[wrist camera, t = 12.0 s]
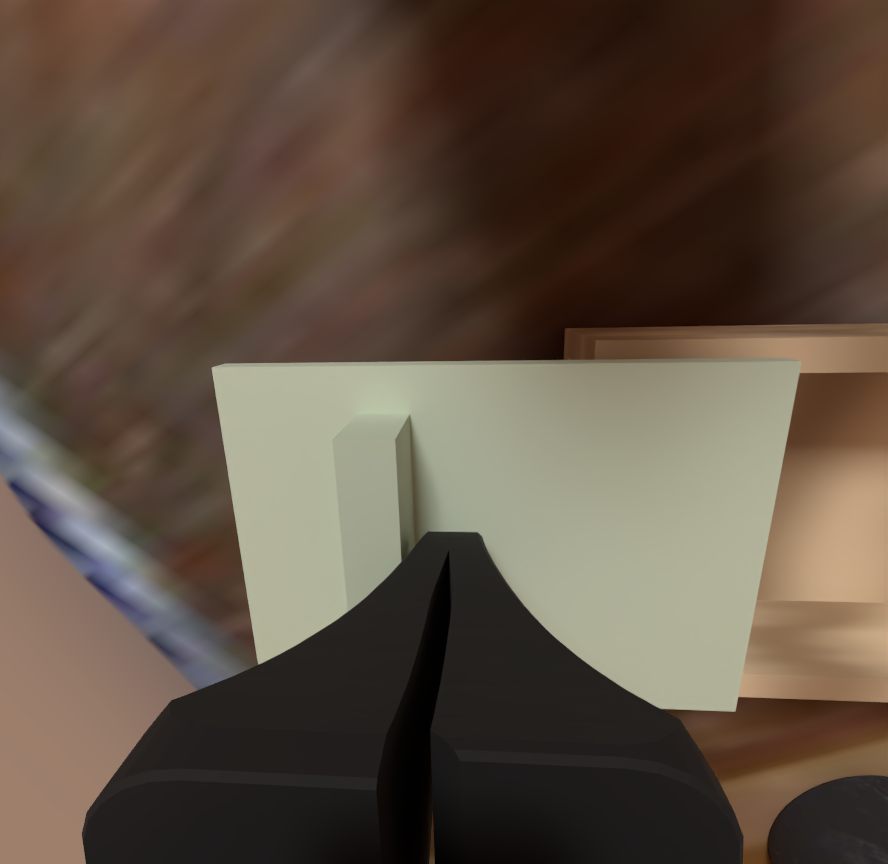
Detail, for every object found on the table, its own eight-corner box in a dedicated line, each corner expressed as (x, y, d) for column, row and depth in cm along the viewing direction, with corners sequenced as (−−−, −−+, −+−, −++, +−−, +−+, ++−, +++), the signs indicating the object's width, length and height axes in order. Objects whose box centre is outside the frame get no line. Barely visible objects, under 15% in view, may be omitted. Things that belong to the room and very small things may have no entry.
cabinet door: (784, 357, 10) (878, 377, 8) (723, 693, 13) (782, 787, 11) (225, 363, 11) (155, 383, 9) (271, 676, 14) (226, 760, 11)
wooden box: (1054, 320, 14) (1410, 337, 9) (957, 614, 17) (1180, 762, 11) (565, 328, 15) (613, 347, 10) (551, 604, 18) (582, 737, 12)
